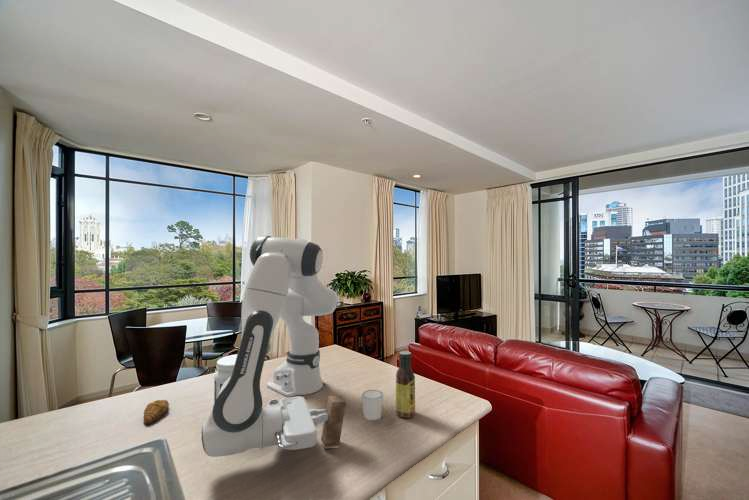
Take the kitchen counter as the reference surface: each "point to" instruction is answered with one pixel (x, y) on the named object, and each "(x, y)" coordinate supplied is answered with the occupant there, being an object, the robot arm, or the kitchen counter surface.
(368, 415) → the white tapered cylinder
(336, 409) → the walnut block
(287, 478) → the kitchen counter surface
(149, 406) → the croissant
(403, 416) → the sauce bottle
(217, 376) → the supplement tub
